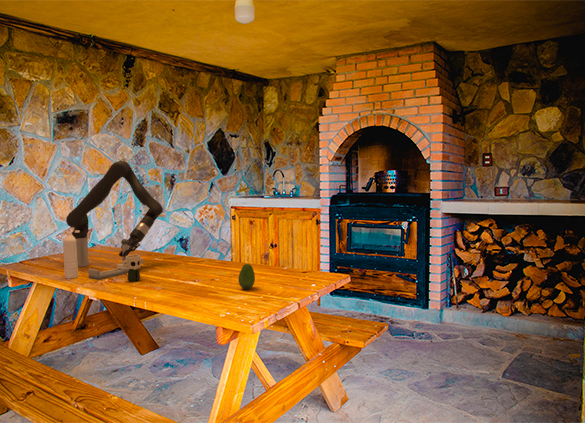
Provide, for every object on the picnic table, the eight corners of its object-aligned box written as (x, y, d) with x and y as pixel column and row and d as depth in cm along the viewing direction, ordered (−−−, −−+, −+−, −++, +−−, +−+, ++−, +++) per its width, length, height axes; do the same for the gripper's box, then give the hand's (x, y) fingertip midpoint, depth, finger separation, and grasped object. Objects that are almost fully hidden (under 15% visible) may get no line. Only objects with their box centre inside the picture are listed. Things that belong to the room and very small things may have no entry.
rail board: (88, 278, 228) (88, 268, 228) (129, 269, 249) (129, 260, 248) (98, 280, 223) (97, 270, 223) (139, 271, 243) (139, 262, 243)
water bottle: (67, 279, 226) (64, 232, 223) (63, 277, 230) (60, 231, 228) (84, 276, 232) (82, 230, 230) (79, 274, 236) (77, 230, 234)
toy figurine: (127, 283, 215) (126, 258, 214) (120, 281, 220) (119, 256, 219) (147, 279, 223) (146, 255, 222) (140, 277, 228) (139, 253, 227)
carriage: (116, 268, 240) (115, 239, 239) (127, 265, 246) (126, 237, 244) (123, 269, 237) (122, 240, 235) (134, 267, 242) (133, 238, 241)
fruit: (256, 290, 200) (256, 264, 199) (240, 291, 198) (239, 266, 197) (253, 285, 207) (252, 261, 206) (237, 287, 205) (236, 262, 204)
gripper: (128, 227, 249) (110, 251, 240) (143, 228, 241) (125, 253, 233) (136, 235, 254) (119, 258, 245) (151, 236, 246) (133, 261, 237)
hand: (122, 256), depth 239 cm, fingers closed on carriage, 3 cm apart
